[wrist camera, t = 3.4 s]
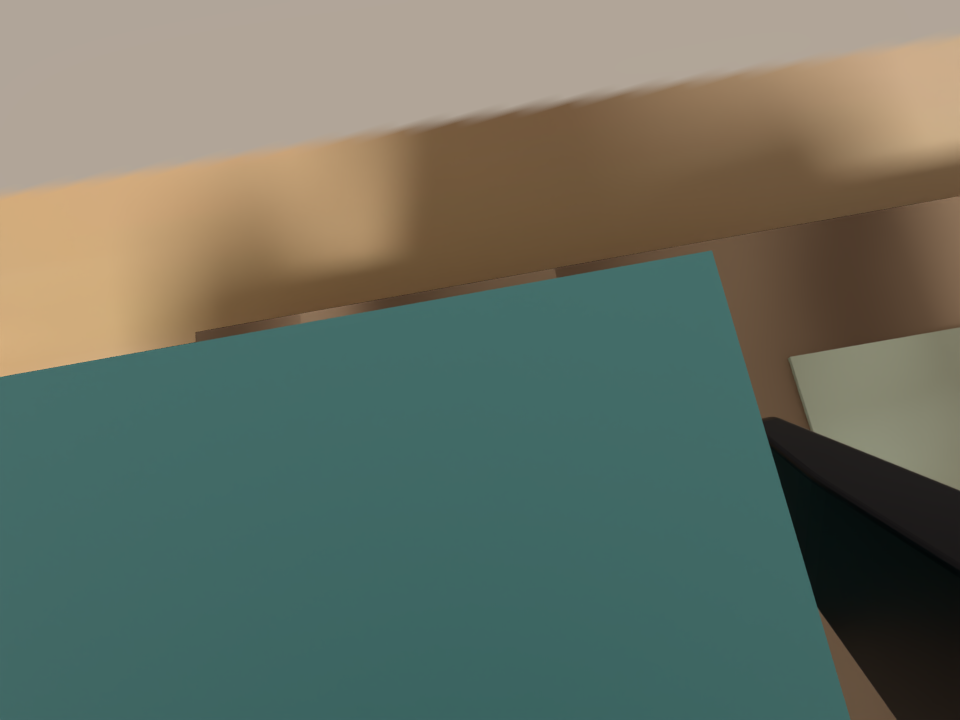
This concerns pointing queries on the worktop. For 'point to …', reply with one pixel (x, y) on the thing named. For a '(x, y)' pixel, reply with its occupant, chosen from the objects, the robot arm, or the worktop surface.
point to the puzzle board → (821, 341)
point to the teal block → (413, 520)
